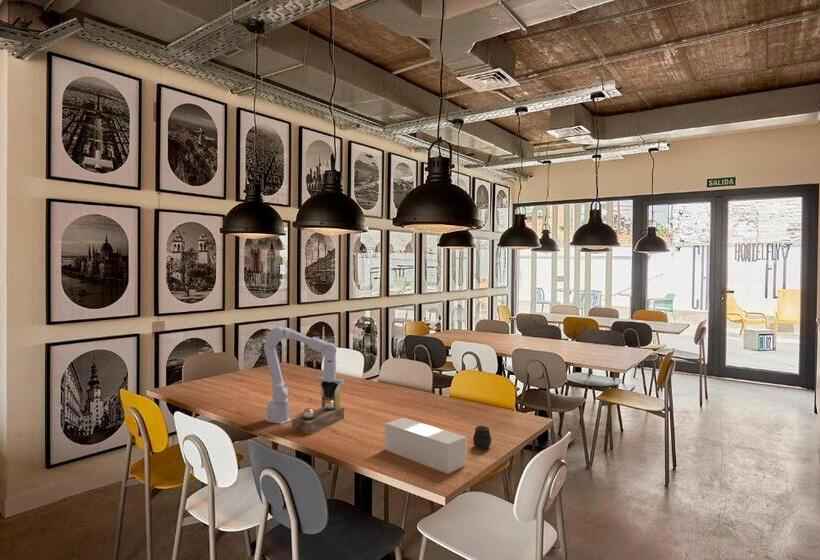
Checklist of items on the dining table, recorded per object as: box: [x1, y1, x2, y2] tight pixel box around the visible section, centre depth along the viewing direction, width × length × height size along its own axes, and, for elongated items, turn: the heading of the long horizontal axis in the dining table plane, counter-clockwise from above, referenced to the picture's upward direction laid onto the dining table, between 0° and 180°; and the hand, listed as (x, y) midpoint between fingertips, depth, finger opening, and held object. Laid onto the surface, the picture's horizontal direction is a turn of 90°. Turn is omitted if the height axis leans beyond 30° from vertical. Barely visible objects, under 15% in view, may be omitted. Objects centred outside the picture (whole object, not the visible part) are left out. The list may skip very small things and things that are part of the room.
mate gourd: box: [472, 425, 492, 450], centre depth 193 cm, size 7×8×10 cm
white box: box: [384, 417, 468, 474], centre depth 183 cm, size 32×11×11 cm, turn 47°
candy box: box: [321, 384, 341, 407], centre depth 243 cm, size 9×4×15 cm, turn 60°
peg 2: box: [325, 400, 334, 411], centre depth 226 cm, size 4×4×4 cm
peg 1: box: [303, 407, 314, 421], centre depth 212 cm, size 4×4×4 cm
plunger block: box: [291, 406, 345, 436], centre depth 219 cm, size 10×26×5 cm, turn 155°
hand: (329, 397), depth 226 cm, fingers closed
